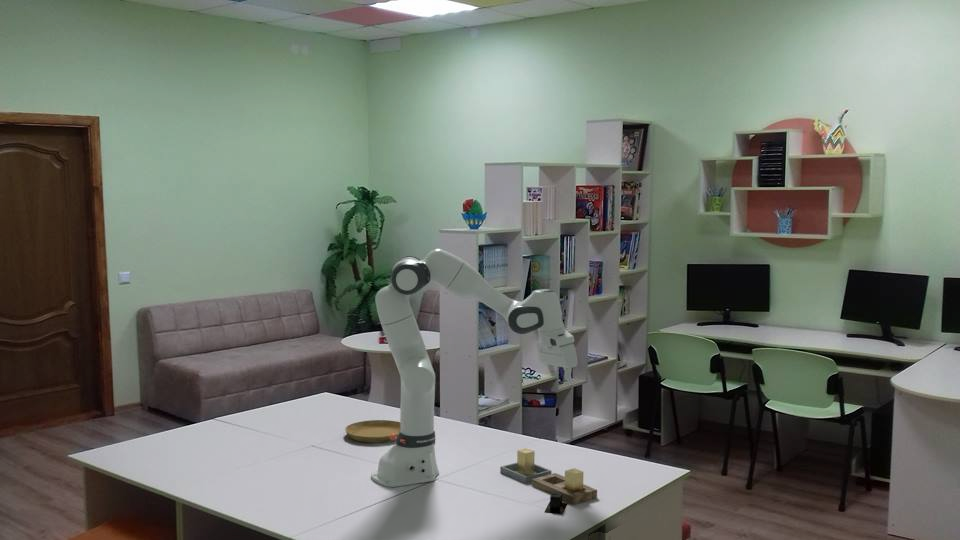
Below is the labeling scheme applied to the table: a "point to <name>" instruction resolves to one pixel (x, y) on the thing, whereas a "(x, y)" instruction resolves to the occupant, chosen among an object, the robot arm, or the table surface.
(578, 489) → the block
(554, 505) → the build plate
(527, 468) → the block
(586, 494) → the pallet
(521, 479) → the shallow grey tray
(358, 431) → the plant saucer
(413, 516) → the table surface
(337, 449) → the table surface
